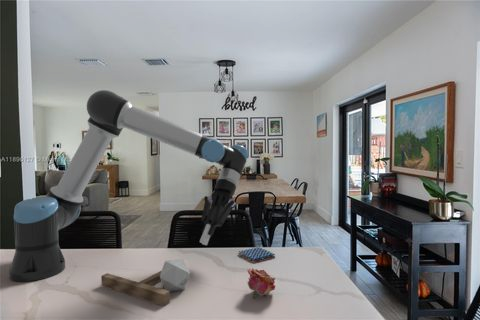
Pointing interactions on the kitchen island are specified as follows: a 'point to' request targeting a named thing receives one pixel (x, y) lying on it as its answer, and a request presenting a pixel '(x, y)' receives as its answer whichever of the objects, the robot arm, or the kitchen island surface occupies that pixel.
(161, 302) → the walnut T rail
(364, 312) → the kitchen island surface
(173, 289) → the die
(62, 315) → the kitchen island surface
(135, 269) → the kitchen island surface
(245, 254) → the woven mat
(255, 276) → the flower
